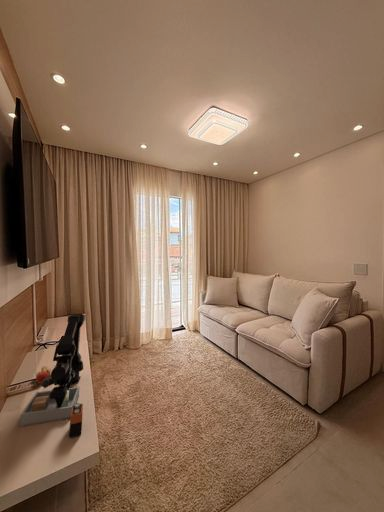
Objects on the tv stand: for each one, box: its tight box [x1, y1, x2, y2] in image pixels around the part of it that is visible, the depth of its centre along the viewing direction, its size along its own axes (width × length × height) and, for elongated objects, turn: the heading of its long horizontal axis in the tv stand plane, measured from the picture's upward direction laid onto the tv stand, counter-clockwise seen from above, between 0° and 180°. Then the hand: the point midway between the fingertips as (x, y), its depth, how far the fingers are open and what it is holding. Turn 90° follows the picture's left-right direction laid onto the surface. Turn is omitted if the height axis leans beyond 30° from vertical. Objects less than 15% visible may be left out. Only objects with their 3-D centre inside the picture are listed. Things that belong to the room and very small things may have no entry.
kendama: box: [35, 365, 52, 384], centre depth 126 cm, size 8×6×18 cm
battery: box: [68, 402, 84, 439], centre depth 88 cm, size 4×7×10 cm, turn 25°
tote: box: [19, 386, 80, 427], centre depth 99 cm, size 16×20×5 cm
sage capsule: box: [56, 390, 69, 408], centre depth 101 cm, size 5×5×7 cm
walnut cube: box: [32, 396, 49, 412], centre depth 98 cm, size 5×5×5 cm
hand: (62, 401), depth 101 cm, fingers open, 9 cm apart
